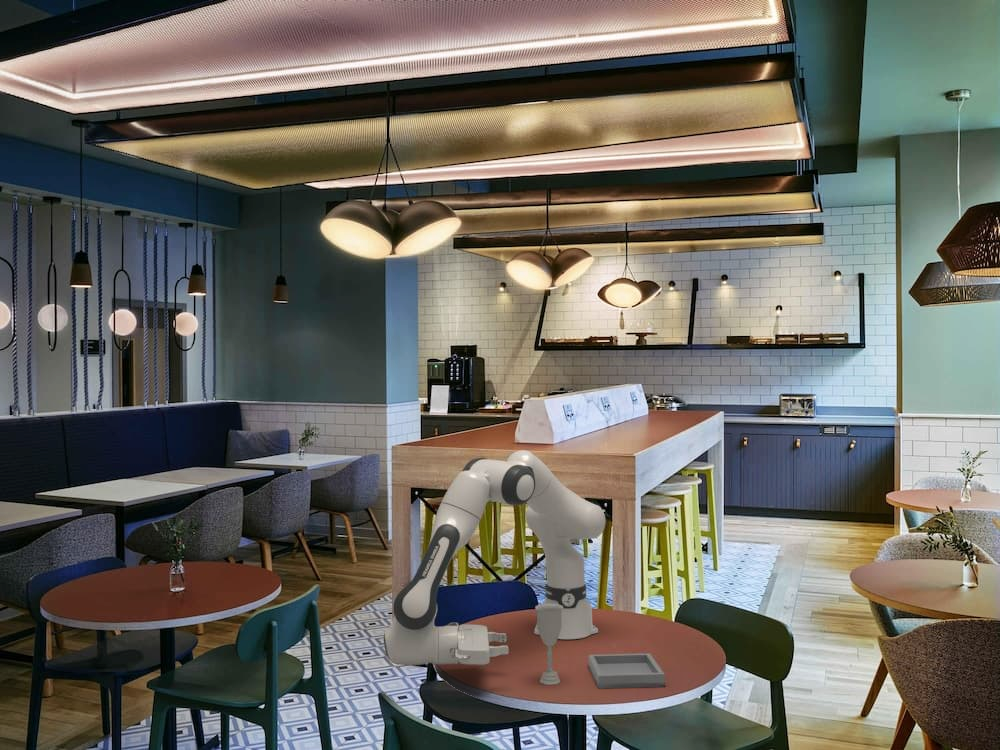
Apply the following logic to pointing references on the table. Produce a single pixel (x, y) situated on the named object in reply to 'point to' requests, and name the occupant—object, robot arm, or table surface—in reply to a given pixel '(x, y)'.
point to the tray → (626, 671)
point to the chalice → (549, 636)
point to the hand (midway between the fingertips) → (507, 643)
